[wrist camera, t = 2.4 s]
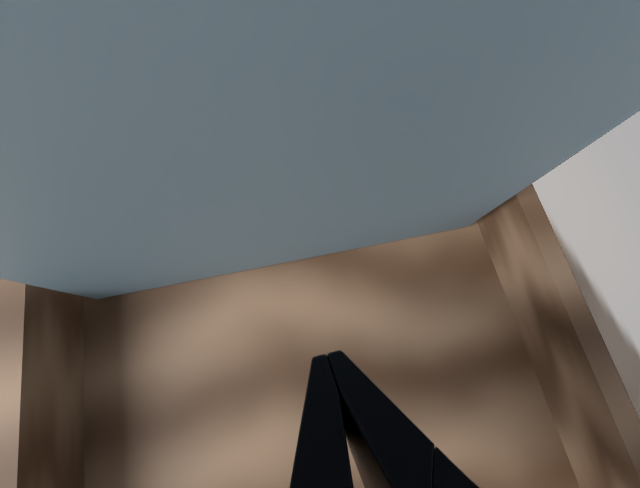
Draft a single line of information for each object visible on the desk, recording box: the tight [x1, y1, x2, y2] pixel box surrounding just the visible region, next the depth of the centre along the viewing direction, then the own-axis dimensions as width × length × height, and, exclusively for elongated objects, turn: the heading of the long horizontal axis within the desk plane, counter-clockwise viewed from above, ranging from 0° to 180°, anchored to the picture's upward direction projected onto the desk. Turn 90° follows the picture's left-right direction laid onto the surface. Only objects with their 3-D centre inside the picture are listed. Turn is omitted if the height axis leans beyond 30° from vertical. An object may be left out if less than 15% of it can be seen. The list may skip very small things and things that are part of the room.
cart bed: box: [0, 184, 640, 488], centre depth 16 cm, size 17×27×5 cm, turn 103°
